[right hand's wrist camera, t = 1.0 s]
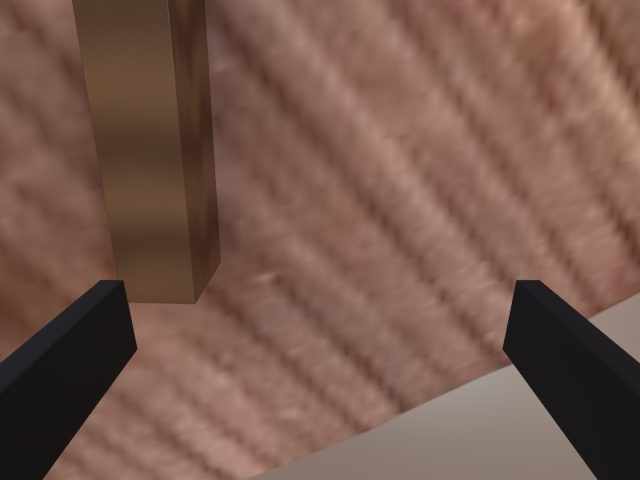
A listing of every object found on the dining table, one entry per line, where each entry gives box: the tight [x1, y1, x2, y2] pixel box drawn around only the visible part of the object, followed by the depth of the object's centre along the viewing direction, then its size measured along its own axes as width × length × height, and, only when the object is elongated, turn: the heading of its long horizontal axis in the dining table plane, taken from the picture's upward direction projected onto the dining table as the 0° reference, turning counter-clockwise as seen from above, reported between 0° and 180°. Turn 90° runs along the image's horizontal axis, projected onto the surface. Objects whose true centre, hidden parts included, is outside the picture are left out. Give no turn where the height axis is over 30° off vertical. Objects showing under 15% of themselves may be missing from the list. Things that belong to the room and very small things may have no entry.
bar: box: [72, 0, 221, 304], centre depth 29 cm, size 23×6×8 cm, turn 178°
